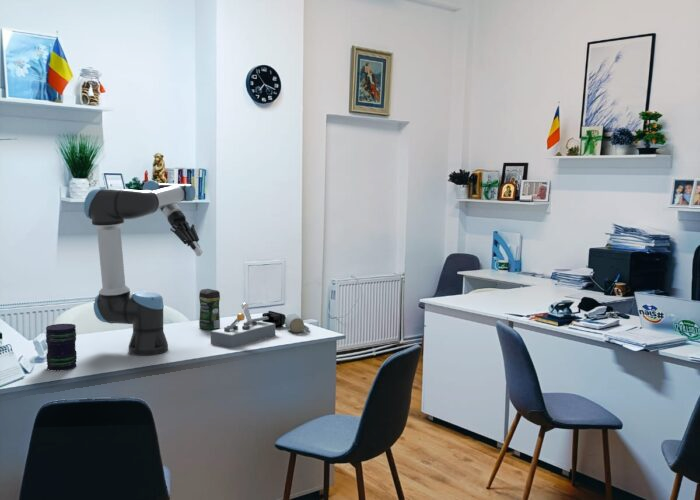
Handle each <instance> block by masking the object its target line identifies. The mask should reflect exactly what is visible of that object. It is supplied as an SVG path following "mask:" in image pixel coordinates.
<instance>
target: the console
mask: <svg viewBox="0 0 700 500" xmlns="http://www.w3.org/2000/svg"><path fill="white" fill-rule="evenodd" d="M254 322H255V323H254V324H252V325H249V323H246V322H243V323H238V324H237V325H236V328H235V329H232V330H230V328H227V326H225V327H223V328H218V329H216V330H210V344H213V345H217V346H223V347H226V348H234V347H239V346H242V345H245V344H249V343H253V342H256V341H260V340H263V339H266V338H270V337H273V336H276V328H275V324H273V323H267V322H262V321H254Z"/></svg>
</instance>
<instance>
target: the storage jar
mask: <svg viewBox="0 0 700 500" xmlns="http://www.w3.org/2000/svg"><path fill="white" fill-rule="evenodd" d="M76 328H77V327H76V324H72V323H57V324H50V325H47V326H46V327H45V329H46V331H45V339H46V340H45V341H46V347H47V348H46V351H47V352H46V362H47V363H46V365H47V366H46V369H47V370H48V369H49V370H48V371H50V370H56V371H55V372H61V371H60V370H65V371H70V370H73V369H75V368H77V360H78V359H77V354H78V353H77V351H76V341H77V332H76V331H77V330H76ZM69 369H70V370H69ZM57 370H59V371H57Z"/></svg>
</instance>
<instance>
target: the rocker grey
mask: <svg viewBox="0 0 700 500" xmlns="http://www.w3.org/2000/svg"><path fill="white" fill-rule="evenodd" d="M251 319H252V320H254V321H263V320H267V319H269V318H268V317H267V316H265V317H262V316H261V317H257V318H251Z"/></svg>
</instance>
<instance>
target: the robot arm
mask: <svg viewBox="0 0 700 500" xmlns="http://www.w3.org/2000/svg"><path fill="white" fill-rule="evenodd" d="M196 194H197V193H196V187H195V186H194V185H193V184H189V183H159V182H158V181H155V180H152V179H150V180H147V181H145V183H144V184H143V186H142V189H141V190H138V189H126V188H125V189H122V188H121V189H120V188H96V189H95V188H94V189H92V190H90V191H89V192H88V193H87V195H86V197H85V200H84V202H83V212H84V214H85V216H86V218H88V220H89V219H90V220H91V225H92V226H93V227H94V228H96V233H97V243H98V254H99V256H98V257H99V265H100V275H101V276H100V277H101V284H102V287H101V289H100V290H98V294H97V295H96V296H95V298H94V300H93V301H94V302H93V312H94V315H95V317H96V318H97V320H99V321H100V322H102V323H107V324H110V325H111V324H121V325H132V335H131V336H130V340H129V343H128V347H127V348H128V353H129V354H131V355H135V356H152V355H159V354H162V353H163V354H164V353H166V352H167V351H168V350H169V344H168V340H167V337H166V334H165V331H164V299H163V298H164V297H163V296H162V295H160V294H159V293H157V292H153V291H143V290H142V291H134V292H132V294H131V290H130V287H128V286H127V284H126V279H125V278H126V276H125V266H124V265H125V264H124V255H123V253H124V252H123V243H122V231H121V228H122V226H123V224H124V223H125V220H134V219H138V218H142V217H145V216H149V215H151V214H154V213H156V211H157V210H159V209H160V211H161V212H162V214H163V215H164V217H165V218H166V220H167V222H168V223H169V225H170V226H171V227H170V232H172V233H174V234H175V235H176V237H177V238H178V239H179V240H180V241H181V242H182V243H183V244H184V245H186V246H187V247H190V249H192V250H193V252H194V253H195V255H196V256H197V257H201V255H202V254H203V253H204V251H203V249H202V248H201V246H200V245H199V243H198V242H199V241H200V238H199V236H198V233H197V231H196V228H195V224H189V222H188V221H187V220H186V216H185V214H184V213H183V211H182V210H181V208H180V206H179V205H178V204H177V203H180V202H192V201H194V200H195V198H196Z"/></svg>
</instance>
